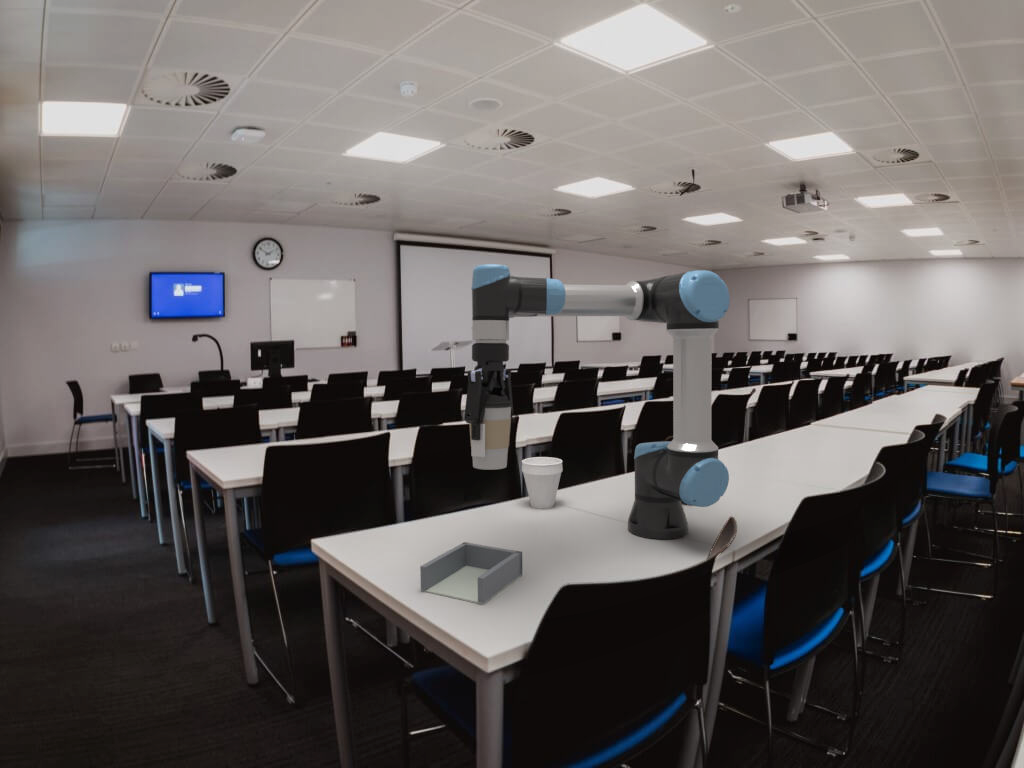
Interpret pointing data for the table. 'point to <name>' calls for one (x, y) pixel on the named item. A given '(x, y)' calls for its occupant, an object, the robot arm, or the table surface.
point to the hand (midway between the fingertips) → (489, 452)
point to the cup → (542, 480)
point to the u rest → (471, 572)
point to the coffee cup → (495, 433)
